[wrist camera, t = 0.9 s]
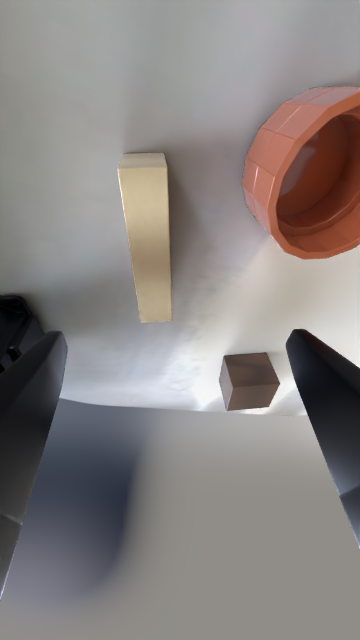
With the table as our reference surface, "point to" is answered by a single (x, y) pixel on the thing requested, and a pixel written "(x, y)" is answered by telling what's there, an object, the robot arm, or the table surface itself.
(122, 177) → the birch bar
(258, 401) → the walnut block
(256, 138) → the plant pot
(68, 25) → the table surface
